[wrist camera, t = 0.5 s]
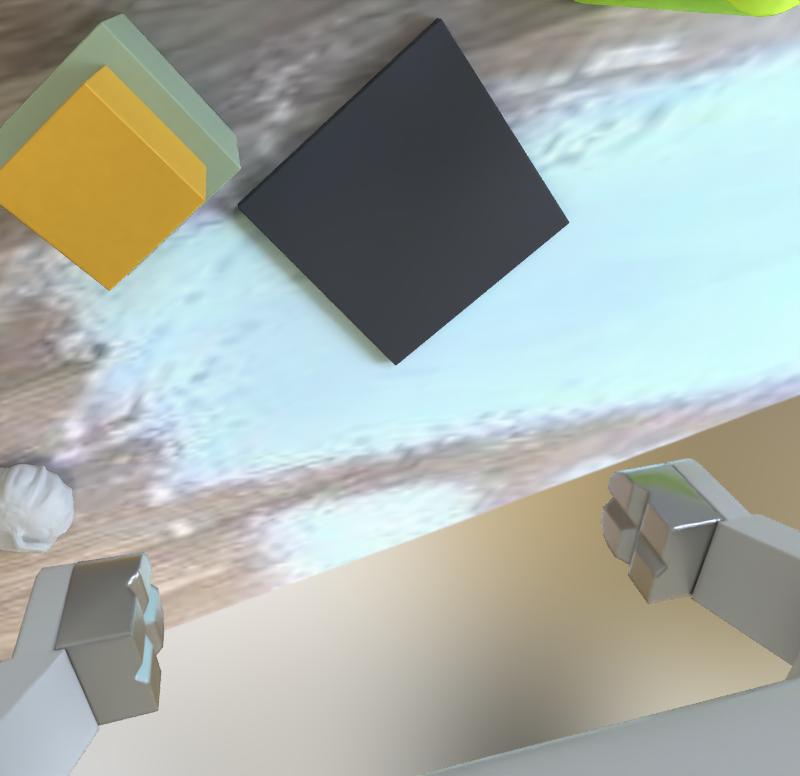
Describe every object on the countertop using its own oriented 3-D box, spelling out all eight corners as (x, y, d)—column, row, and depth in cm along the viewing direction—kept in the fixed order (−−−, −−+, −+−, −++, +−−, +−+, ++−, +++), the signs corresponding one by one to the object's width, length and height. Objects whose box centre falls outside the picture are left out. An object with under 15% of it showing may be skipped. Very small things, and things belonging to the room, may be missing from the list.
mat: (437, 17, 33) (440, 18, 32) (565, 219, 40) (569, 222, 40) (237, 204, 35) (237, 207, 34) (393, 361, 43) (396, 366, 42)
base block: (122, 12, 29) (100, 21, 24) (236, 135, 33) (241, 168, 27) (20, 119, 31) (-24, 152, 25) (141, 226, 34) (127, 276, 29)
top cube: (105, 63, 24) (83, 81, 20) (206, 166, 27) (206, 200, 23) (17, 155, 25) (-20, 189, 21) (124, 245, 28) (109, 291, 24)
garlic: (102, 492, 43) (90, 549, 38) (33, 531, 43) (13, 593, 39) (33, 432, 39) (11, 488, 35) (-42, 475, 39) (-72, 536, 35)
